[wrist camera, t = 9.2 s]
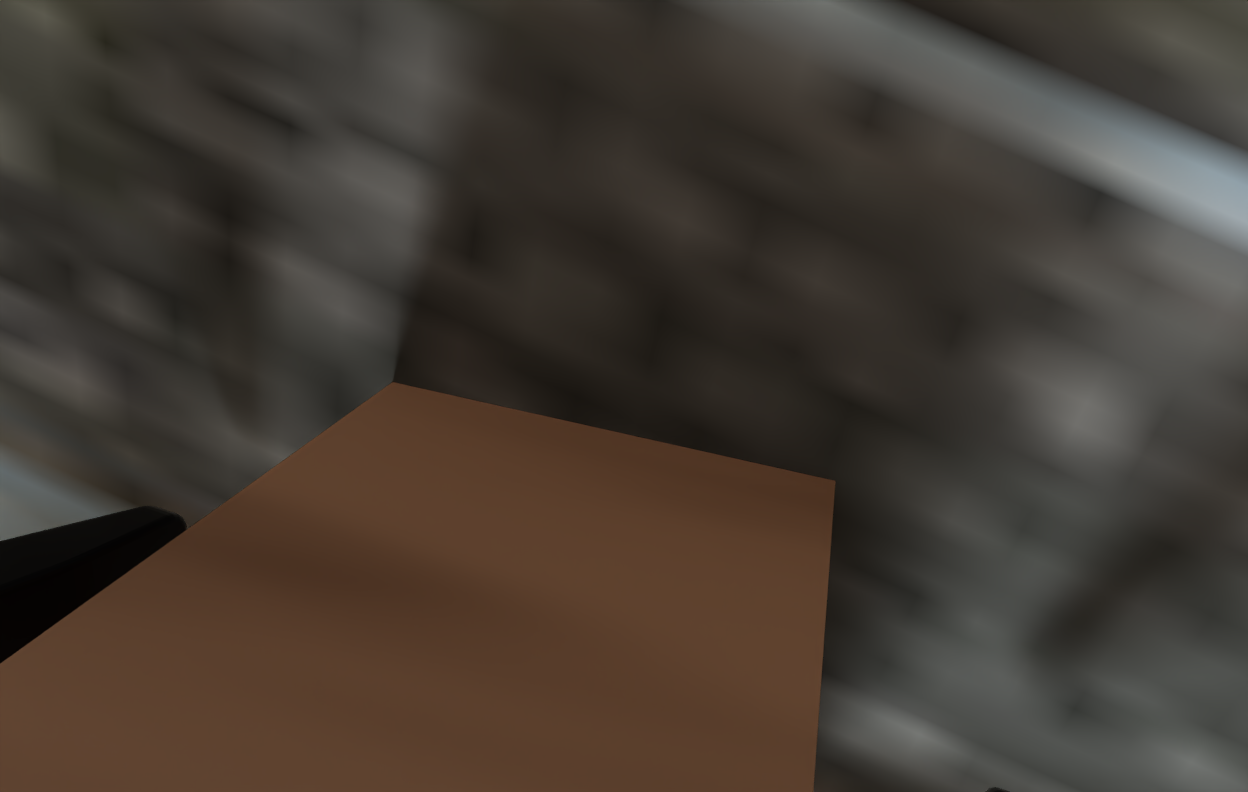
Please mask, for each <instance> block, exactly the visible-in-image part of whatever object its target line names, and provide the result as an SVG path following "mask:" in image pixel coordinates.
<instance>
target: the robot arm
mask: <svg viewBox="0 0 1248 792" xmlns="http://www.w3.org/2000/svg"><path fill="white" fill-rule="evenodd" d="M186 530H187V528H186V523H185V521H184V519H183V518H182V517H181V516H180V515H178V514H176V513H173V512H170V511H167V510H164V509H161V508H158V507H155V506H142V507H138V508H134V509H130V510H126V511H121V512H117V513H113V514H109V515H105V516H101V517H97V518H93V519H89V520H85V521H81V522H76V523H72V524H68V525H64V526H60V527H56V528H52V529H48V530H44V531H40V532H36V533H32V534H27V535H23V536H19V537H15V538H11V539H7V540H3V541H0V663H2V662H3V661H5V660H6V659H7V658H9V657H10V656H12V655H13V654H14V653H16V652H17V651H19V650H20V649H21V648H23V647H24V646H26V645H27V644H28V643H30V642H31V641H32V640H34V639H35V638H37V637H38V636H39V635H41V634H42V633H44V632H45V631H46V630H48V629H49V628H51V627H52V626H53V625H55V624H56V623H58V622H59V621H60V620H62V619H63V618H65V617H66V616H67V615H69V614H70V613H71V612H73V611H74V610H76V609H77V608H78V607H80V606H81V605H83V604H84V603H85V602H87V601H88V600H90V599H91V598H92V597H94V596H95V595H97V594H98V593H99V592H101V591H102V590H104V589H105V588H106V587H108V586H109V585H111V584H112V583H113V582H115V581H116V580H117V579H119V578H120V577H122V576H123V575H124V574H126V573H127V572H129V571H130V570H131V569H133V568H134V567H136V566H137V565H138V564H140V563H141V562H143V561H144V560H145V559H147V558H148V557H150V556H151V555H152V554H154V553H155V552H156V551H158V550H159V549H161V548H162V547H163V546H165V545H166V544H168V543H169V542H170V541H172V540H173V539H175V538H176V537H177V536H179V535H180V534H182V533H183V532H184V531H186ZM985 792H1009V791H1006V790H1003V789H1000V788H996V787H993V788H989V789H988V790H987V791H985Z"/></svg>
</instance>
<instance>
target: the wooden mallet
mask: <svg viewBox="0 0 1248 792" xmlns="http://www.w3.org/2000/svg"><path fill="white" fill-rule="evenodd" d="M834 495H835V481H834V480H829V479H825V478H820V477H816V476H811V475H807V474H802V473H798V472H793V471H789V470H784V469H780V468H775V467H771V466H766V465H762V464H757V463H753V462H749V461H744V460H740V459H735V458H731V457H726V456H722V455H717V454H713V453H708V452H704V451H699V450H695V449H690V448H686V447H681V446H677V445H672V444H668V443H663V442H659V441H654V440H650V439H645V438H641V437H637V436H632V435H628V434H623V433H619V432H614V431H610V430H605V429H601V428H596V427H592V426H587V425H583V424H578V423H574V422H569V421H565V420H560V419H556V418H551V417H547V416H542V415H538V414H533V413H529V412H525V411H520V410H516V409H511V408H507V407H502V406H498V405H493V404H489V403H484V402H480V401H475V400H471V399H466V398H462V397H457V396H453V395H448V394H444V393H439V392H435V391H430V390H426V389H421V388H417V387H413V386H408V385H404V384H399V383H395V382H392V383H391V384H389V385H388V386H386V387H385V388H384V389H382V390H381V391H379V392H378V393H377V394H375V395H374V396H372V397H371V398H370V399H368V400H367V401H366V402H364V403H363V404H361V405H360V406H359V407H357V408H356V409H354V410H353V411H352V412H350V413H349V414H347V415H346V416H345V417H343V418H342V419H340V420H339V421H338V422H336V423H335V424H333V425H332V426H331V427H329V428H328V429H327V430H325V431H324V432H322V433H321V434H320V435H318V436H317V437H315V438H314V439H313V440H311V441H310V442H308V443H307V444H306V445H304V446H303V447H301V448H300V449H299V450H297V451H296V452H294V453H293V454H292V455H290V456H289V457H287V458H286V459H285V460H283V461H282V462H281V463H279V464H278V465H276V466H275V467H274V468H272V469H271V470H269V471H268V472H267V473H265V474H264V475H262V476H261V477H260V478H258V479H257V480H255V481H254V482H253V483H251V484H250V485H248V486H247V487H246V488H244V489H243V490H241V491H240V492H239V493H237V494H236V495H235V496H233V497H232V498H230V499H229V500H228V501H226V502H225V503H223V504H222V505H221V506H219V507H218V508H216V509H215V510H214V511H212V512H211V513H209V514H208V515H207V516H205V517H204V518H202V519H201V520H200V521H198V522H197V523H196V524H194V525H193V526H191V527H190V528H189V529H187V530H186V531H184V532H183V533H182V534H180V535H179V536H177V537H176V538H175V539H173V540H172V541H170V542H169V543H168V544H166V545H165V546H163V547H162V548H161V549H159V550H158V551H156V552H155V553H154V554H152V555H151V556H150V557H148V558H147V559H145V560H144V561H143V562H141V563H140V564H138V565H137V566H136V567H134V568H133V569H131V570H130V571H129V572H127V573H126V574H124V575H123V576H122V577H120V578H119V579H117V580H116V581H115V582H113V583H112V584H111V585H109V586H108V587H106V588H105V589H104V590H102V591H101V592H99V593H98V594H97V595H95V596H94V597H92V598H91V599H90V600H88V601H87V602H85V603H84V604H83V605H81V606H80V607H78V608H77V609H76V610H74V611H73V612H71V613H70V614H69V615H67V616H66V617H65V618H63V619H62V620H60V621H59V622H58V623H56V624H55V625H53V626H52V627H51V628H49V629H48V630H46V631H45V632H44V633H42V634H41V635H39V636H38V637H37V638H35V639H34V640H32V641H31V642H30V643H28V644H27V645H26V646H24V647H23V648H21V649H20V650H19V651H17V652H16V653H14V654H13V655H12V656H10V657H9V658H7V659H6V660H5V661H3V662H2V663H0V792H813V789H814V775H815V761H816V747H817V733H818V719H819V705H820V691H821V677H822V663H823V649H824V635H825V621H826V607H827V593H828V579H829V565H830V551H831V537H832V523H833V509H834Z"/></svg>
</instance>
